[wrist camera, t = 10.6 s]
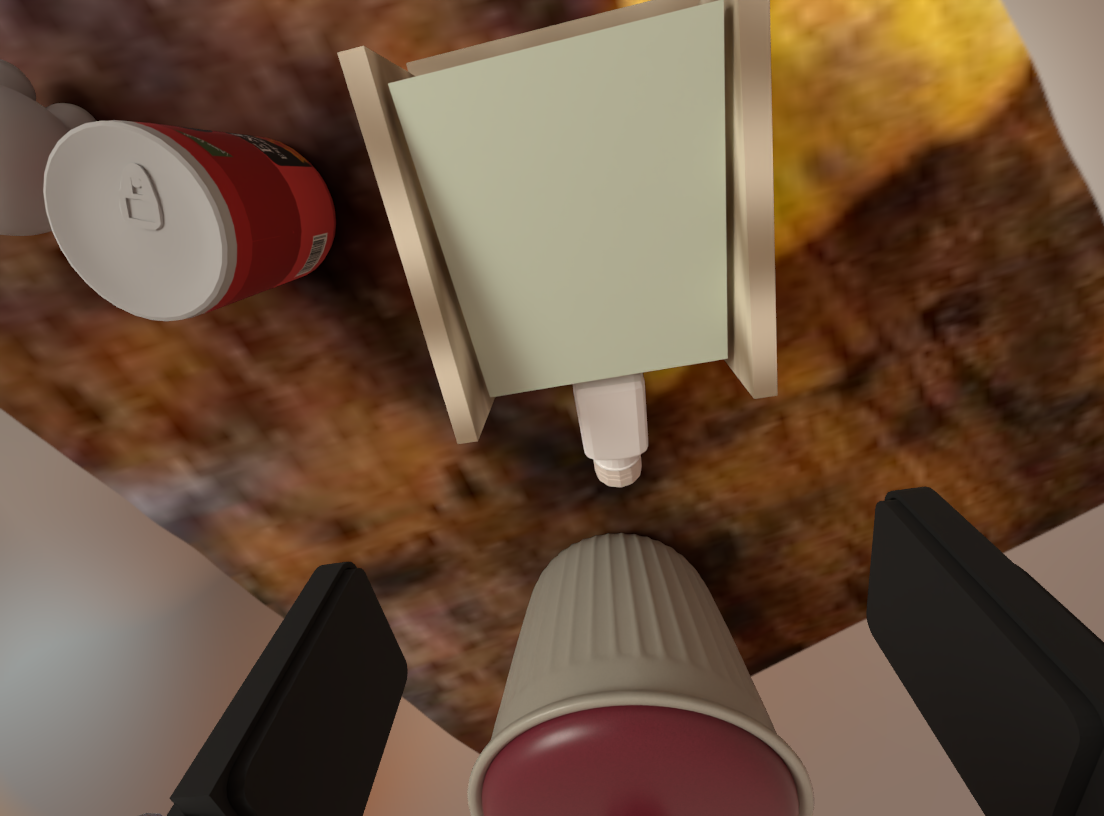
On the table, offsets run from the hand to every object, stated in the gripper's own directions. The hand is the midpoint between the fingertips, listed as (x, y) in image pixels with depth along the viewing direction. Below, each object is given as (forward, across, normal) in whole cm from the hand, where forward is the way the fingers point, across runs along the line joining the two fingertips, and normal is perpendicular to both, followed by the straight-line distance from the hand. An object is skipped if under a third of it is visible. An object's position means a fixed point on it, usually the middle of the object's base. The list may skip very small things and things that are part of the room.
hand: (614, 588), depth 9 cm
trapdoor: (+18, 0, -4) cm, 18 cm away
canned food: (+26, +18, -8) cm, 32 cm away
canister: (+25, +2, +24) cm, 35 cm away
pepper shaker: (+20, 0, +3) cm, 21 cm away
